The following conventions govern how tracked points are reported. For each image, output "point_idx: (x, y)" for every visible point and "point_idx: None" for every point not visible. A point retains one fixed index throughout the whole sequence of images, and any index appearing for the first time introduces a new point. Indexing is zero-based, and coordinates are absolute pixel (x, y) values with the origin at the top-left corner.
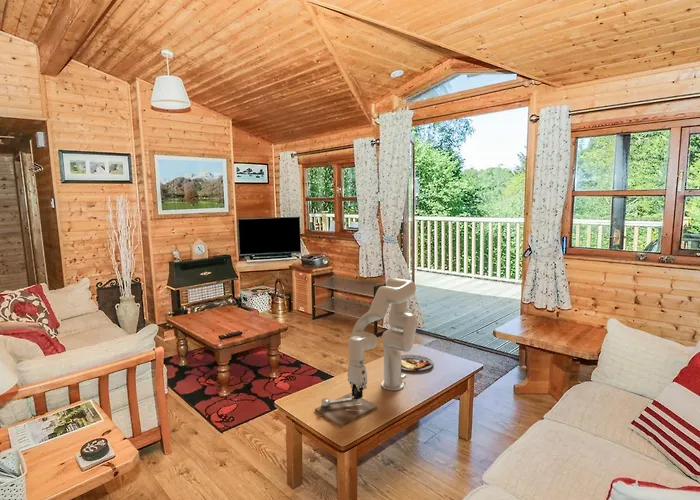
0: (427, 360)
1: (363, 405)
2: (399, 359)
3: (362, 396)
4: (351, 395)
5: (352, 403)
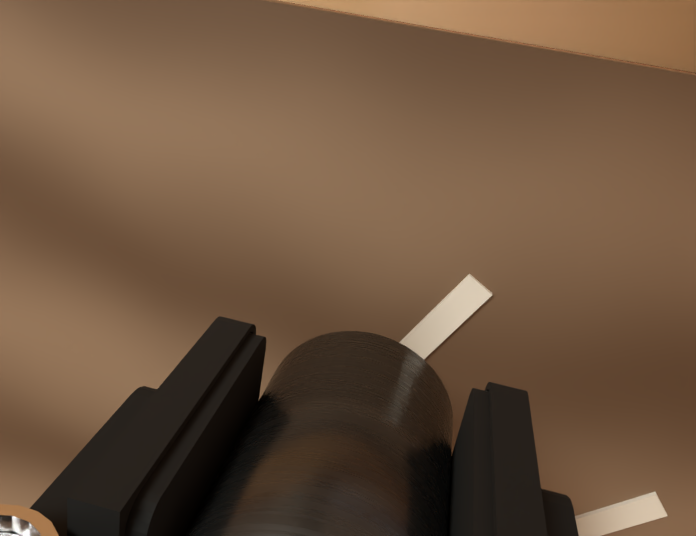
0: None
1: (556, 301)
2: None
3: (528, 399)
4: (2, 64)
5: (282, 357)
